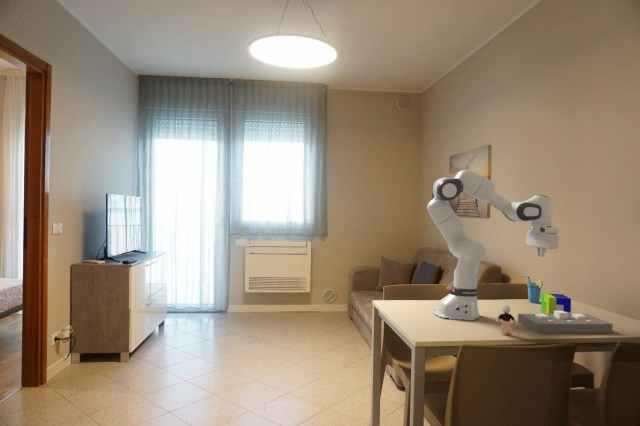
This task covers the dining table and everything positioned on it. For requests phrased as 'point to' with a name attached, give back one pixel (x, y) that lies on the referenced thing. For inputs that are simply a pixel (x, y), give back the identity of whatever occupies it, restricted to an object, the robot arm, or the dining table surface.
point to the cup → (534, 290)
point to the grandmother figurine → (506, 320)
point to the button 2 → (579, 316)
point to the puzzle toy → (555, 303)
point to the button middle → (561, 314)
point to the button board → (565, 324)
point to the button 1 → (542, 316)
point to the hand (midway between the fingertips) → (540, 256)
